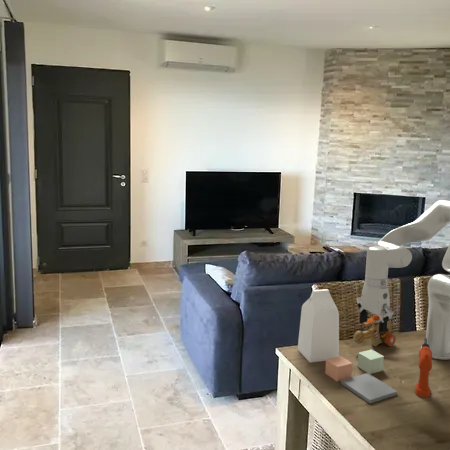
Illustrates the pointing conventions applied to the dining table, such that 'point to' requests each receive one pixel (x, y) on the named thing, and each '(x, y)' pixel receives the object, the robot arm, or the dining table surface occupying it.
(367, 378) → the gray plate
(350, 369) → the terracotta block
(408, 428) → the dining table surface
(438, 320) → the robot arm
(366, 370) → the sage block
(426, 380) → the toy drill
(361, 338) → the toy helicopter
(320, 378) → the dining table surface
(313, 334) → the milk
